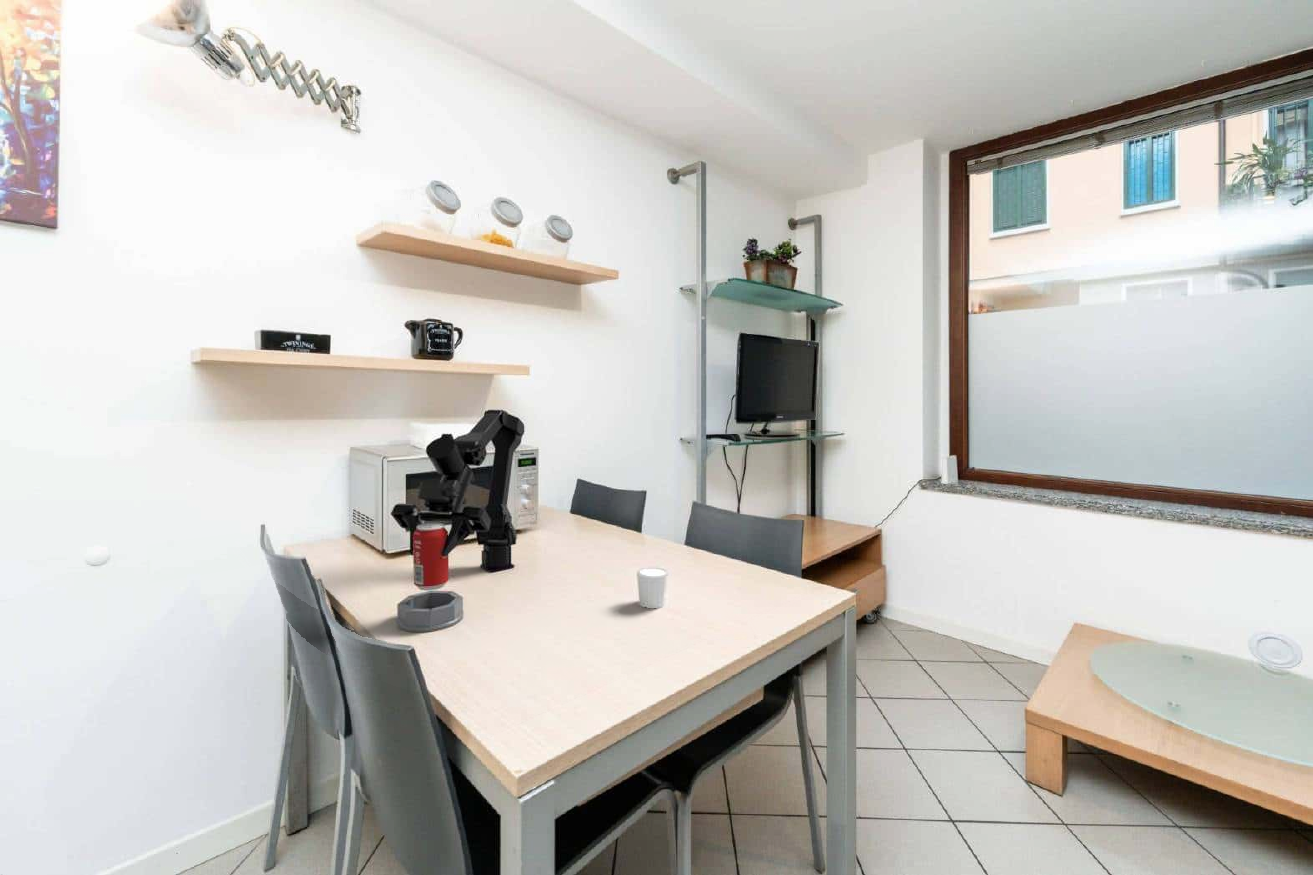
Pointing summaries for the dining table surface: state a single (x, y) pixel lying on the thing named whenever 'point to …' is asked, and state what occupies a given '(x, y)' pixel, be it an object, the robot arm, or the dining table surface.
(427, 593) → the cup holder
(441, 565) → the beverage can
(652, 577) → the white cup
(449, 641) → the dining table surface
